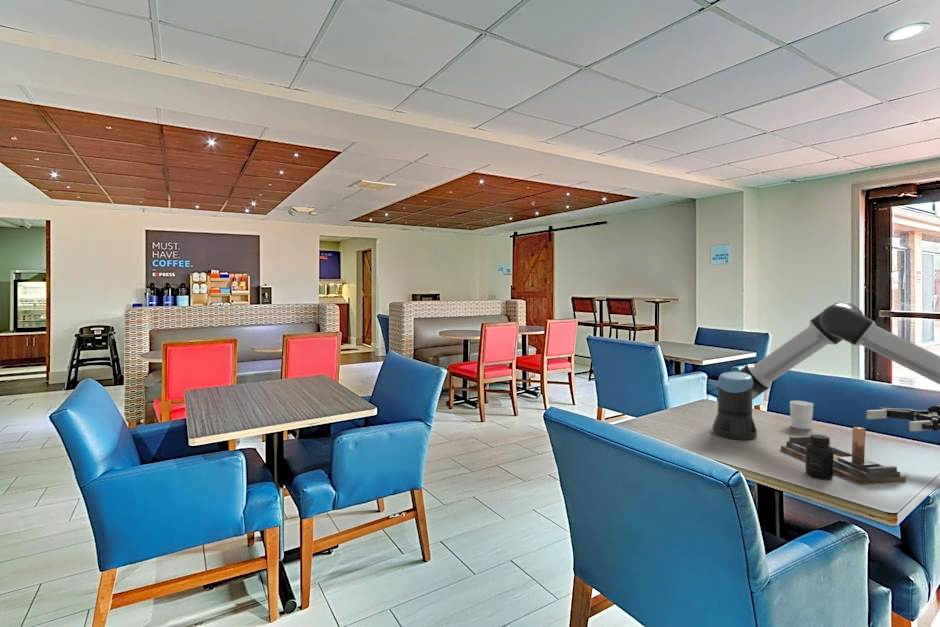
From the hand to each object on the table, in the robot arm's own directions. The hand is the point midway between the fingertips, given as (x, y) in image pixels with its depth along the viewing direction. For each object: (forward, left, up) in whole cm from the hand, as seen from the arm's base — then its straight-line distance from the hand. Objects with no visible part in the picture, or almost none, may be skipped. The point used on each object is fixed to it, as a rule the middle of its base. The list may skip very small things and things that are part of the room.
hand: (887, 420), depth 150 cm
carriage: (-11, -5, -13) cm, 18 cm away
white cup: (-2, +45, -16) cm, 48 cm away
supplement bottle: (-24, -8, -16) cm, 29 cm away
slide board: (-12, +2, -15) cm, 20 cm away
